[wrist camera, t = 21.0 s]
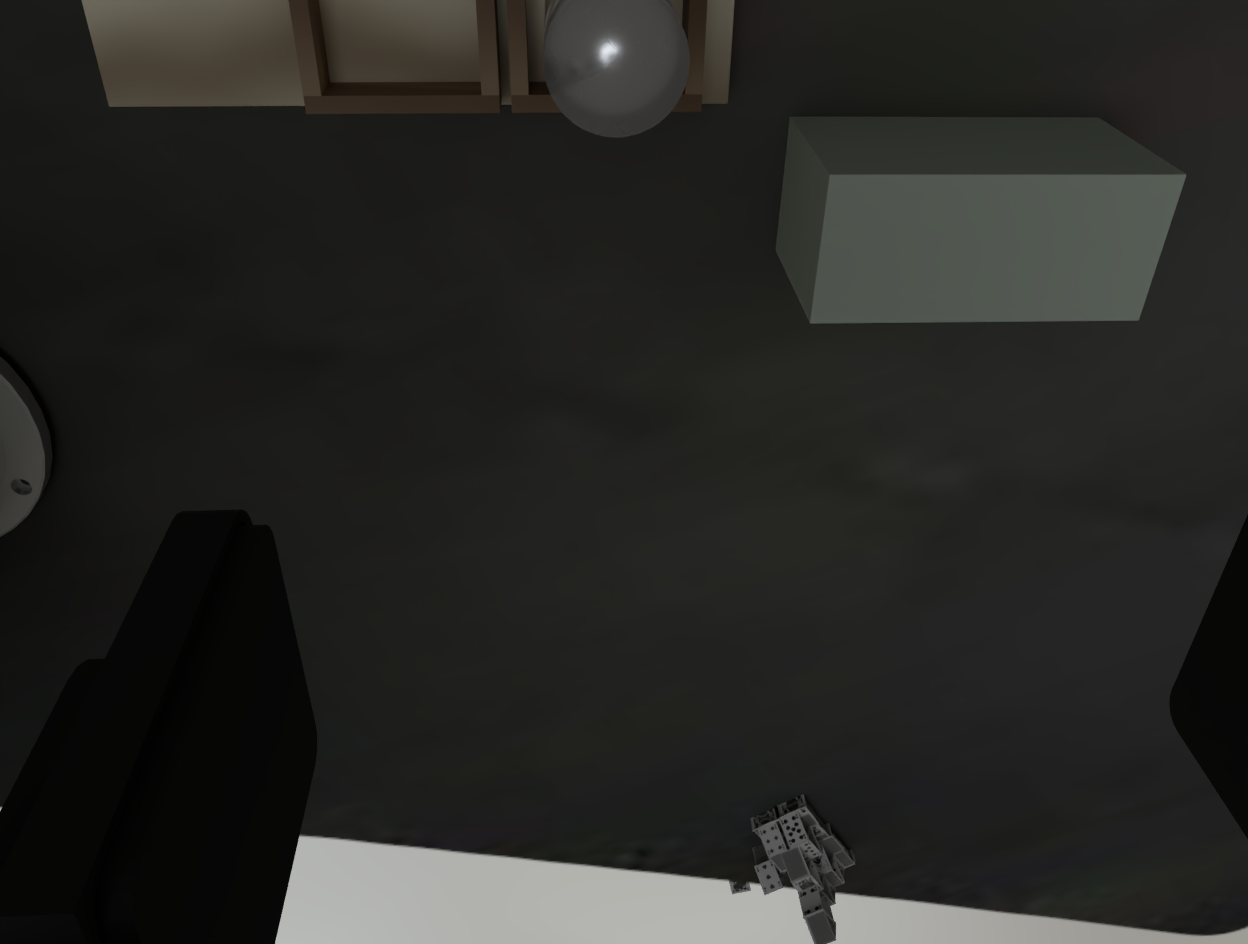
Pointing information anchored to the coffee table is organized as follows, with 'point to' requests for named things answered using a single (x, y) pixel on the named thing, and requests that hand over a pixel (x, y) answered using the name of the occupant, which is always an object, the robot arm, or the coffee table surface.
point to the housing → (971, 219)
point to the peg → (614, 63)
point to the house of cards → (800, 862)
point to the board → (360, 54)
